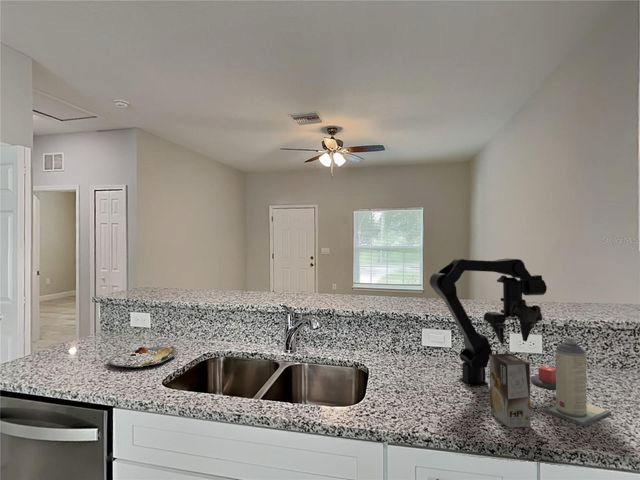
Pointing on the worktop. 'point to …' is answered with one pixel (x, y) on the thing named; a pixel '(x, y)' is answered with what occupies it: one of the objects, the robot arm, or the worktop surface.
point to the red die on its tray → (542, 384)
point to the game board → (592, 416)
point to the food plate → (161, 355)
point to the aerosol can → (571, 379)
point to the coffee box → (510, 390)
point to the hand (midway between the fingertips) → (513, 342)
